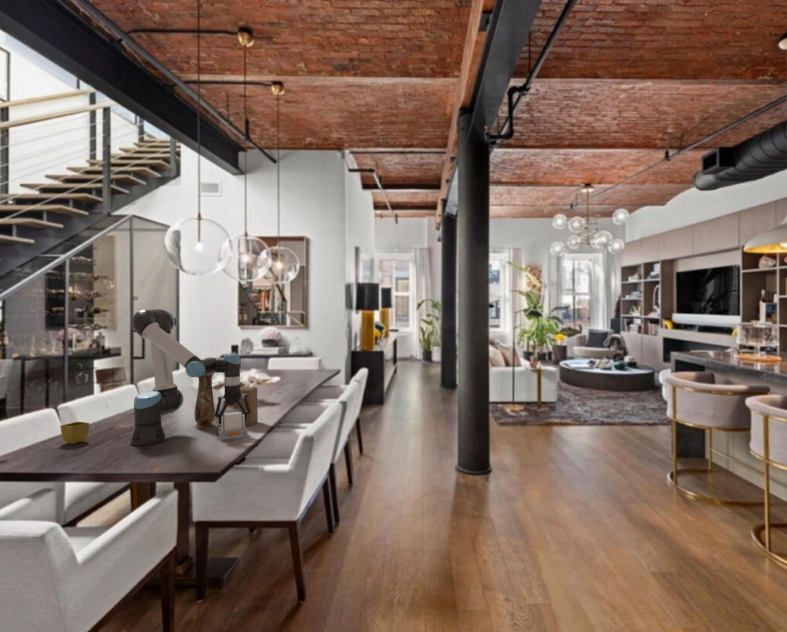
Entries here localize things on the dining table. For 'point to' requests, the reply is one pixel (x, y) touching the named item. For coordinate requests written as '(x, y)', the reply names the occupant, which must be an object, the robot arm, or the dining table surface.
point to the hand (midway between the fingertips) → (232, 428)
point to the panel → (232, 421)
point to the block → (252, 403)
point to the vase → (205, 402)
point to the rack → (231, 434)
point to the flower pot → (74, 432)
